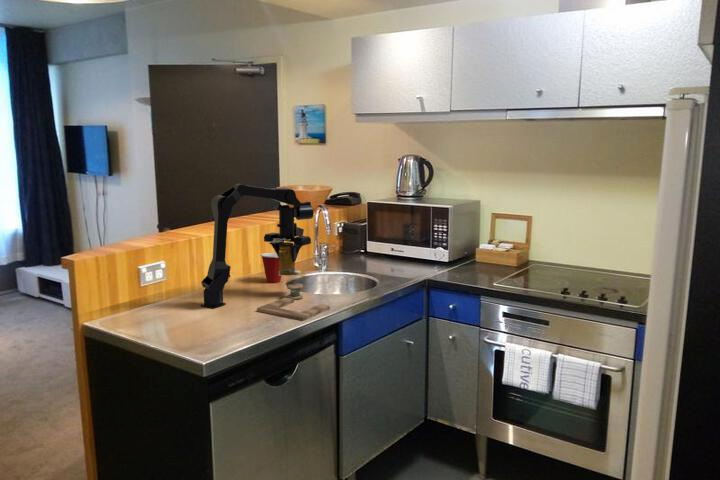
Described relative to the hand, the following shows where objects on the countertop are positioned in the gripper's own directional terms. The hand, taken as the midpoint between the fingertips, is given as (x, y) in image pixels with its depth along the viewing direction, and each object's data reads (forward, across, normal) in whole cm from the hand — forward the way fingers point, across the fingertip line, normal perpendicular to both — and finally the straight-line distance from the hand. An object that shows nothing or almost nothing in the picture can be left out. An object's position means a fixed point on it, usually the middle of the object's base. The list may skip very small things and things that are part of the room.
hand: (287, 260), depth 225 cm
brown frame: (+13, -14, +16) cm, 25 cm away
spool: (+13, -5, +3) cm, 15 cm away
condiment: (+5, -1, 0) cm, 5 cm away
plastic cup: (+14, +18, -13) cm, 26 cm away
